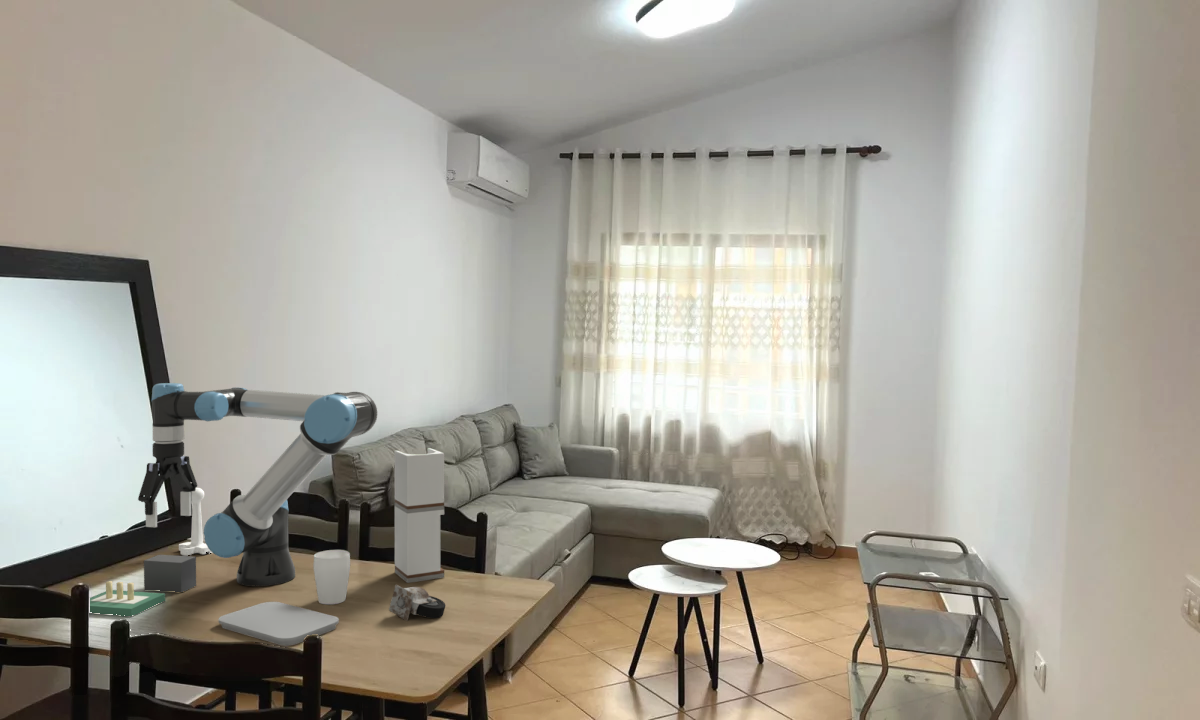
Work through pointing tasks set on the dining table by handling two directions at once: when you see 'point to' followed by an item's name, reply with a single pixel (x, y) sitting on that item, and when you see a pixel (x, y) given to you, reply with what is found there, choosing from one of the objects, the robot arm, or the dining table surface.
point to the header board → (123, 600)
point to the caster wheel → (415, 603)
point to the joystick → (195, 528)
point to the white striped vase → (418, 514)
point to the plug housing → (170, 573)
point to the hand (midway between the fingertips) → (169, 521)
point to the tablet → (278, 622)
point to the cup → (331, 575)
